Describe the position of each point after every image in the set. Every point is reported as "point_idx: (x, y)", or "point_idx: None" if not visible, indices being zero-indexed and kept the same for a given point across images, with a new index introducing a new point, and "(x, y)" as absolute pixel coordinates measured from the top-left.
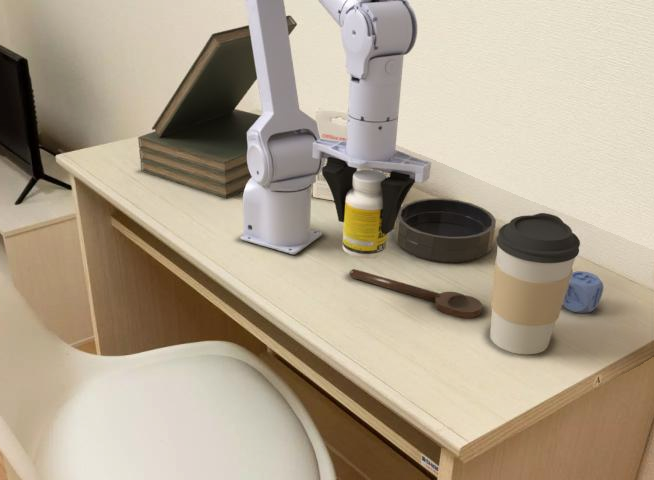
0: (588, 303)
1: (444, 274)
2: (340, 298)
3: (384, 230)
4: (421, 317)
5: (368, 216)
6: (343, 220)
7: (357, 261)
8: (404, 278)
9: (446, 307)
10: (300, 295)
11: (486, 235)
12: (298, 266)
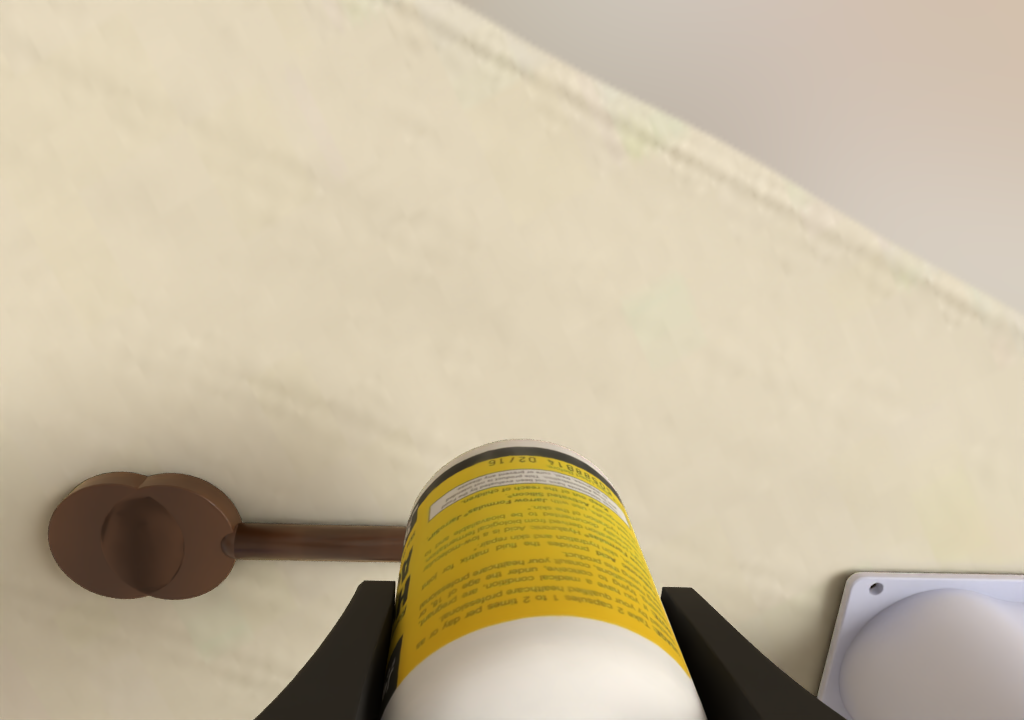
0: None
1: None
2: (568, 381)
3: (371, 588)
4: (236, 405)
5: (466, 599)
6: (665, 597)
7: None
8: None
9: (161, 485)
10: (717, 327)
11: None
12: (805, 512)
